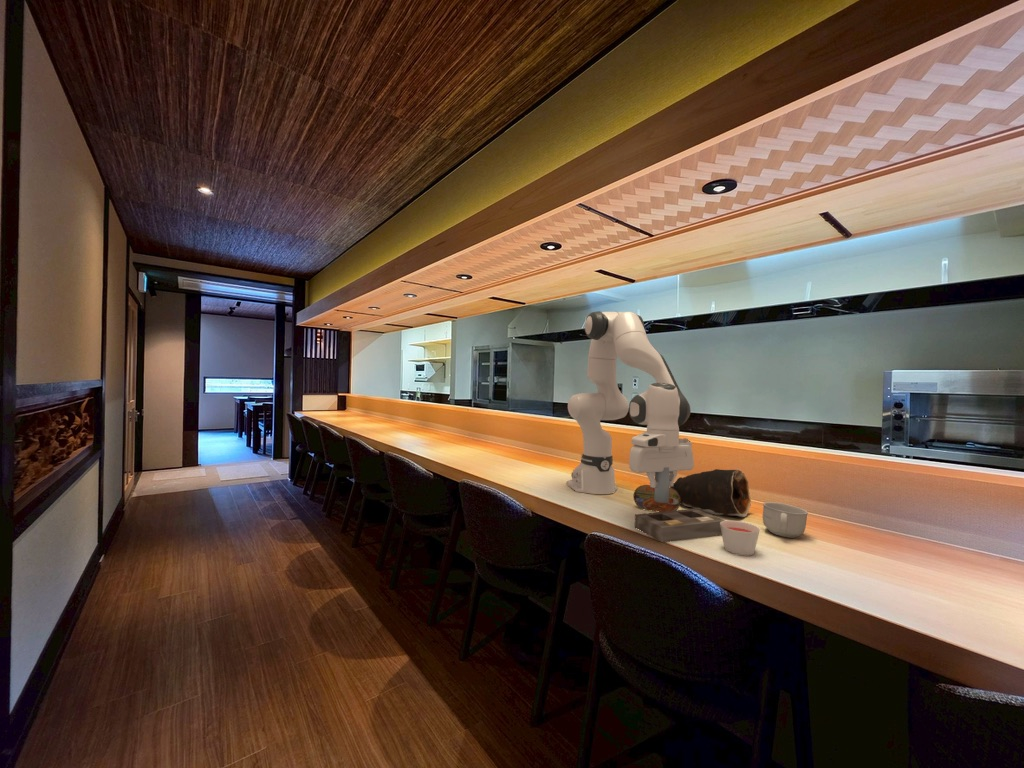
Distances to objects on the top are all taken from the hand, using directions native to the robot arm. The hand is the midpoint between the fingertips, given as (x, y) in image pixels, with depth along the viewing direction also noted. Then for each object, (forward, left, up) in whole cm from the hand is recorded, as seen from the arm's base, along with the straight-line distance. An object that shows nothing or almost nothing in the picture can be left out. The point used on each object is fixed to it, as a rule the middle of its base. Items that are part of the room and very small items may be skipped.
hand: (661, 486), depth 121 cm
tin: (-18, +13, -13) cm, 25 cm away
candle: (+17, +11, -13) cm, 24 cm away
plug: (0, 0, -4) cm, 4 cm away
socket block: (+1, +6, -13) cm, 14 cm away
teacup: (+12, +33, -13) cm, 37 cm away
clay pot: (-15, +31, -13) cm, 36 cm away
